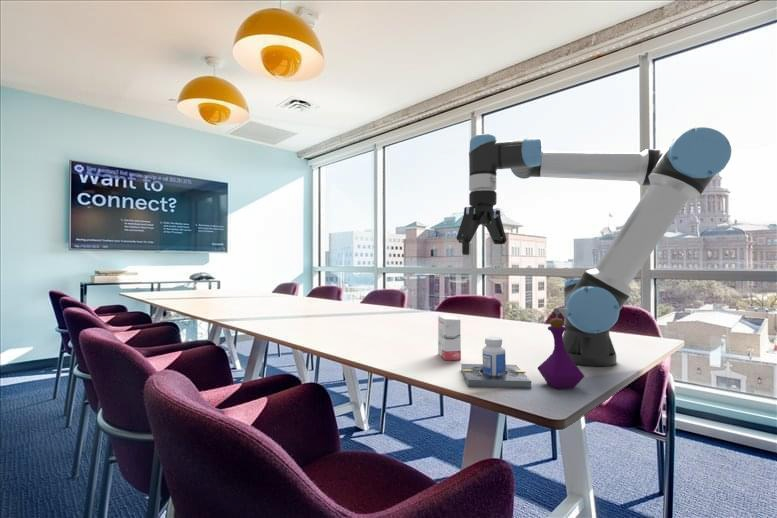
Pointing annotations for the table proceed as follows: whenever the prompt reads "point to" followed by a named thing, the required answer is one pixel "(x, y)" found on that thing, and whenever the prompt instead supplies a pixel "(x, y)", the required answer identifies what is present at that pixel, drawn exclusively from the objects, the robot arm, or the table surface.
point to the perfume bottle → (560, 359)
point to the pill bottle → (494, 357)
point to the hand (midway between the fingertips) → (482, 266)
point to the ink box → (449, 338)
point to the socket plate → (495, 377)
